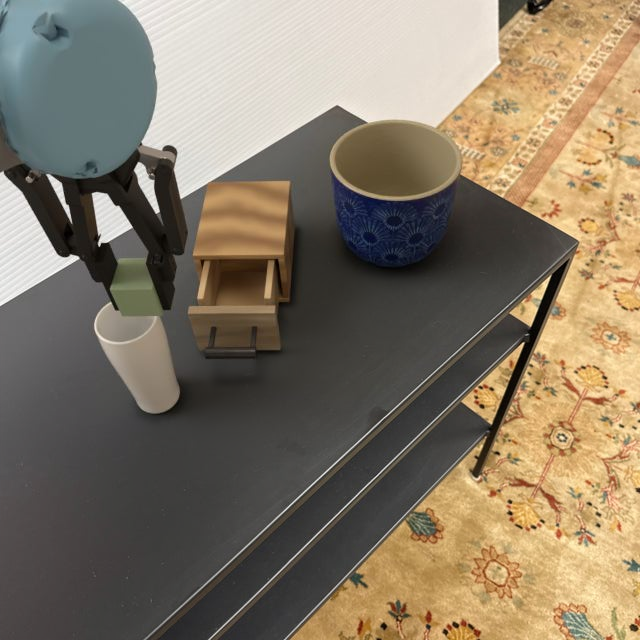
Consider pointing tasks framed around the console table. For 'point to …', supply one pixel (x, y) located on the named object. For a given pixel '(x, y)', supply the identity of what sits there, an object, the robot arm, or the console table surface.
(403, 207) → the planter
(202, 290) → the drawer
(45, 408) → the console table surface
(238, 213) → the cabinet
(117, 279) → the block
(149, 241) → the robot arm
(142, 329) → the drinking glass
